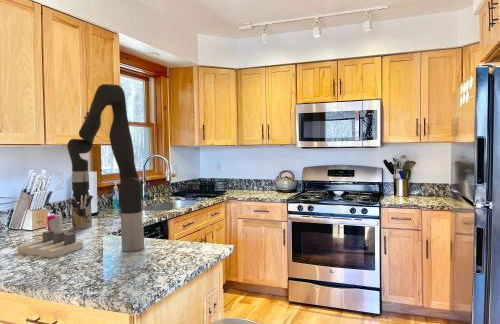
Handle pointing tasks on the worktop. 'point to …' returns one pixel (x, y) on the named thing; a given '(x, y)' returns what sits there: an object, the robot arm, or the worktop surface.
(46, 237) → the tab
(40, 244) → the switch panel
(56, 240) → the tab
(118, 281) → the worktop surface
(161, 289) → the worktop surface
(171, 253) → the worktop surface
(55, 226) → the supplement box
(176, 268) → the worktop surface
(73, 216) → the coffee box
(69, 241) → the tab
